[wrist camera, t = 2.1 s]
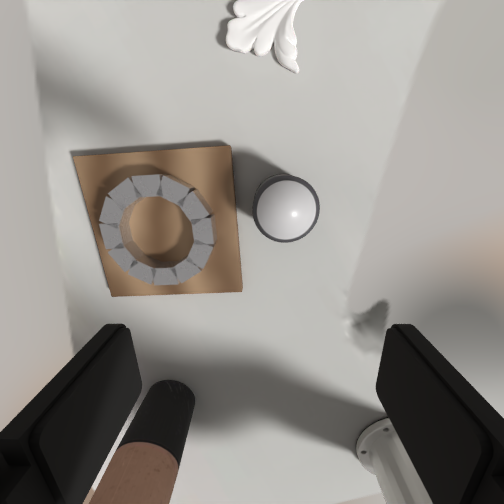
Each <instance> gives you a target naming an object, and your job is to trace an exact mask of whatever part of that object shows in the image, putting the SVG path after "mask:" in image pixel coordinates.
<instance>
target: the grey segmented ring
mask: <svg viewBox="0 0 504 504" xmlns="http://www.w3.org/2000/svg"><path fill="white" fill-rule="evenodd" d="M194 188H195V187H194V186H192V185H190V184H188V183H186V182H184V181H182V180H180V179H178V178H176V177H174V176H172V175H167V174H157V175H141V176H132V177H128V178H127V179H125V180H124V181H123V182H122V183H120V184H119V185H118V186H117V187H115V188H114V189H113V190H112V191H110V192H109V193H108V194H109V195H110V196H106V198H105V201H104V205H103V208H102V212H101V215H100V219H99V221H101V222H103V223H101V224H99V226H100V230H101V234H102V237H103V241H104V245H105V248H106V249H112V250H110V251H109V252H107V253H108V254H109V255H110V256H111V257H112V258H113V259H114V260H115V262H116V263H117V264H118V265H119V266H120V267H121V268H122V270H123V271H124V272H126V271H128V270H129V269H130V270H129V272H128V275H130V276H133V277H135V278H137V279H139V280H142V281H144V282H146V283H148V284H152V283H153V282H154V285H177V284H179V283H180V282H181V283H183V282H185V281H186V280H188V279H190V278H191V277H193V276H194V275H196V274H198V273H199V272H201V271H202V269H203V268H204V267H205V265H206V263H207V261H208V259H209V257H210V255H211V253H212V251H213V249H214V247H215V244H216V240H217V233H216V224H215V215H209V214H211V213H212V212H213V210H212V209H211V207H210V206H209V205H208V203H207V202H206V200H205V199H204V197H203V196H202V195H201V193H200V192H199V190H198V189H197V190H194ZM154 196H160V197H162V198H164V199H166V200H168V201H170V202H173V203H175V204H177V205H179V206H180V208H181V209H182V211H183V212H184V213H185V215H186V216H187V217H188V219H189V220H190V221H191V223H192V230H193V237H194V243H193V246H192V248H191V250H190V253H189V254H188V255H187V256H185V257H184V258H182V259H181V260H179V261H167V262H161V261H159V260H156V259H154V258H152V257H150V256H148V255H145V254H144V253H143V251H142V250H141V249H140V248H139V247H138V245H137V244H136V243H135V242H134V241H133V238H132V233H131V229H130V225H129V221H130V218H131V215H132V212H133V209H134V206H135V205H136V204H138V203H139V202H140V201H142V200H143V199H144V198H146V197H154Z"/></svg>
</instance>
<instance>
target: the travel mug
mask: <svg viewBox="0 0 504 504" xmlns="http://www.w3.org/2000/svg"><path fill="white" fill-rule="evenodd" d="M194 405H195V397H194V394H193V393H192V391H191V390H190V389H189V388H188V387H187V386H186V385H184V384H182V383H180V382H177V381H172V380H165V381H160V382H158V383H156V384H154V385H153V386H152V387H151V388H150V390H149V391H148V393H147V395H146V397H145V398H144V400H143V402H142V404H141V406H140V408H139V409H138V411H137V413H136V415H135V417H134V418H133V420H132V422H131V424H130V426H129V428H128V429H127V431H126V433H125V435H124V437H123V438H122V440H121V442H120V444H119V446H118V448H117V449H116V451H115V453H114V455H113V457H112V459H111V461H110V463H109V465H108V467H107V469H106V471H105V473H104V475H103V477H102V479H101V481H100V483H99V485H98V487H97V489H96V491H95V493H94V495H93V497H92V498H91V501H90V502H89V504H169V502H170V498H171V495H172V491H173V488H174V484H175V481H176V477H177V474H178V470H179V466H180V462H181V458H182V454H183V450H184V446H185V442H186V438H187V434H188V430H189V426H190V422H191V418H192V413H193V409H194Z"/></svg>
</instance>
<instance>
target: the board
mask: <svg viewBox="0 0 504 504" xmlns="http://www.w3.org/2000/svg"><path fill="white" fill-rule="evenodd" d="M73 159H74V163H75V166H76V170H77V173H78V177H79V181H80V184H81V188H82V191H83V195H84V199H85V202H86V206H87V209H88V213H89V217H90V220H91V224H92V228H93V231H94V235H95V238H96V242H97V246H98V249H99V253H100V256H101V260H102V264H103V267H104V271H105V274H106V278H107V282H108V285H109V289H110V292H111V296H112V297H117V296H144V295H170V294H197V293H224V292H242V288H243V285H242V273H241V261H240V248H239V236H238V224H237V212H236V199H235V187H234V175H233V163H232V150H231V146H230V145H229V146H215V147H201V148H187V149H172V150H158V151H144V152H130V153H116V154H101V155H87V156H73ZM157 174H167V175H172V176H174V177H176V178H178V179H180V180H182V181H184V182H186V183H188V184H190V185H192V186H194V187H195V188H194V190H197V189H198V190H199V192H200V193H201V195H202V196H203V197H204V199H205V200H206V202H207V203H208V205H209V206H210V207H211V209H212V210H213V212H212V213H211V214H209V215H215V224H216V233H217V240H216V244H215V247H214V249H213V251H212V253H211V255H210V257H209V259H208V261H207V263H206V265H205V267H204V268H203V269H202V271H201V272H199V273H198V274H196V275H194V276H193V277H191V278H190V279H188V280H186V281H185V282H183V283H181V282H180V283H179V284H177V285H154V282H153V283H152V284H148V283H146V282H144V281H142V280H139V279H137V278H135V277H133V276H130V275H128V272H129V270H130V269H129V270H128V271H126V272H124V271H123V270H122V268H121V267H120V266H119V265H118V264H117V263H116V262H115V260H114V259H113V258H112V257H111V256H110V255H109V254H108V253H107V252H109V251H110V250H112V249H106V248H105V245H104V241H103V237H102V234H101V230H100V226H99V224H101V223H103V222H101V221H99V219H100V215H101V212H102V208H103V205H104V201H105V198H106V196H110V195H109V194H108V193H109V192H110V191H112V190H113V189H114V188H115V187H117V186H118V185H119V184H120V183H122V182H123V181H124V180H125V179H127V178H128V177H132V176H141V175H157ZM129 225H130V229H131V233H132V238H133V241H134V242H135V243H136V244H137V245H138V247H139V248H140V249H141V250H142V251H143V253H144V254H145V255H148V256H150V257H152V258H154V259H156V260H159V261H161V262H167V261H179V260H181V259H182V258H184V257H185V256H187V255H188V254H189V253H190V250H191V248H192V246H193V243H194V237H193V230H192V223H191V221H190V220H189V219H188V217H187V216H186V215H185V213H184V212H183V211H182V209H181V208H180V206H179V205H177V204H175V203H173V202H170V201H168V200H166V199H164V198H162V197H160V196H154V197H146V198H144V199H143V200H142V201H140V202H139V203H138V204H136V205H135V206H134V209H133V212H132V215H131V218H130V221H129Z"/></svg>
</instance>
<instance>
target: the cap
mask: <svg viewBox="0 0 504 504" xmlns="http://www.w3.org/2000/svg"><path fill="white" fill-rule="evenodd" d="M319 210H320V205H319V199H318V196H317V194H316V192H315V190H314V189H313V187H312V186H311V185H310V184H309V183H307V182H306V181H305V180H303V179H301V178H298V177H295V176H291V175H287V174H278V175H274V176H271V177H269V178H268V179H266V180H265V181H264V182H263V183H262V184H261V185H260V186H259V188H258V189H257V192H256V194H255V198H254V202H253V218H254V221H255V224H256V226H257V228H258V229H259V230H260V232H261V233H262V234H263V235H265V236H266V237H267V238H269V239H271V240H274V241H277V242H293V241H296V240H299V239H301V238H303V237H304V236H306V235H307V234H308V233H309V232H310V231H311V230H312V229H313V227H314V226H315V224H316V222H317V219H318V216H319Z"/></svg>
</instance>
